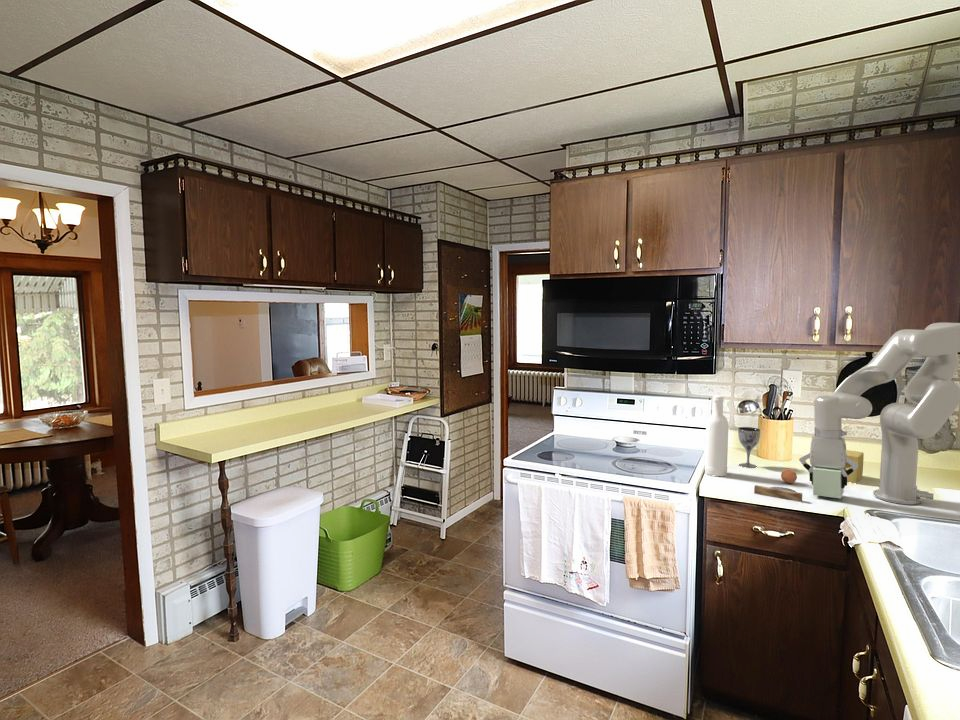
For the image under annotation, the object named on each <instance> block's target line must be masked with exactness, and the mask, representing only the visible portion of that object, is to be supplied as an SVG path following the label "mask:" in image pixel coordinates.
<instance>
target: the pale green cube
mask: <svg viewBox="0 0 960 720" xmlns="http://www.w3.org/2000/svg"><path fill="white" fill-rule="evenodd" d="M841 476H842V473H841V470H839V469H832V468H823V467H814V468H813V485H812V494H813V496H818V497H819V496H820V497H825V498H826V497H827V498H833V499H842V497H843V494H844V492H845V491H844V490H845V488H844V489H842V488H841Z"/></svg>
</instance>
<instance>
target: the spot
mask: <svg viewBox="0 0 960 720" xmlns="http://www.w3.org/2000/svg"><path fill="white" fill-rule="evenodd" d="M768 487H769V486H768ZM769 488H775V489H781V490H787V491H792V492H797V491H796V490H793V488H792V489H791V488H789V487H788V488H787V487H783V486H770V487H769Z"/></svg>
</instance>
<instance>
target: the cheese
mask: <svg viewBox="0 0 960 720" xmlns="http://www.w3.org/2000/svg"><path fill="white" fill-rule="evenodd" d="M846 452H847V457H848V458H850V459H851V460H853V461H854V462H856V463H857V464H858V467H857V468H856V469H855V470H854V471H853V472H852V473H851V474H849V475H848V476H847V483H849V482H851V483H850V484H854V483H856V484H857V483H859V481H861V479H862V478H863V474H864V473H863V472H864V471H863V470H864V458H865V457H864V452H862V451H856V450H848V449H846ZM851 467H852V465H850V464H849V463H847V465H846V466H845V469H846V470H848V469H849V468H851Z"/></svg>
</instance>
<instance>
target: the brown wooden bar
mask: <svg viewBox="0 0 960 720" xmlns="http://www.w3.org/2000/svg"><path fill="white" fill-rule="evenodd" d="M753 493H754V494H756V495H761V496H766V497H771V498H777V499H781V500H782V499H783V500H787V501H793V502H798V503H802V502H803V493H802V492H797V491H796V492H792V491H787V490H781V489H775V488H769V486H763V485H757V484H754V492H753Z"/></svg>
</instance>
